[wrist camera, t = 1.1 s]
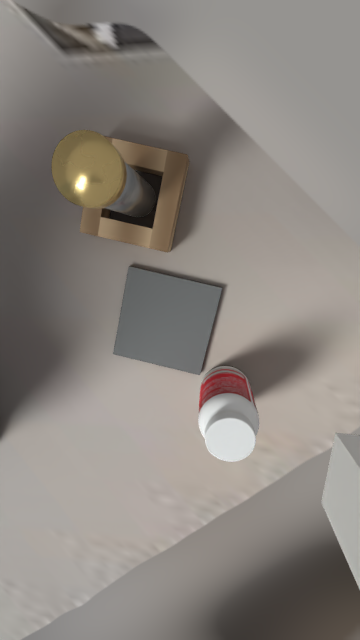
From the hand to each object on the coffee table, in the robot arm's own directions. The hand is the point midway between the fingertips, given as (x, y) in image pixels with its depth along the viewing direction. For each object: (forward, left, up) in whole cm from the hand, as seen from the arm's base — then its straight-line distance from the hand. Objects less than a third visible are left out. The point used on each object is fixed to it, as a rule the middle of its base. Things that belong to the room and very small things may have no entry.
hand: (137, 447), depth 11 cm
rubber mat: (-2, -3, -28) cm, 28 cm away
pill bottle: (+7, -10, -28) cm, 31 cm away
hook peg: (-8, +10, -28) cm, 31 cm away
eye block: (-8, +10, -28) cm, 31 cm away
